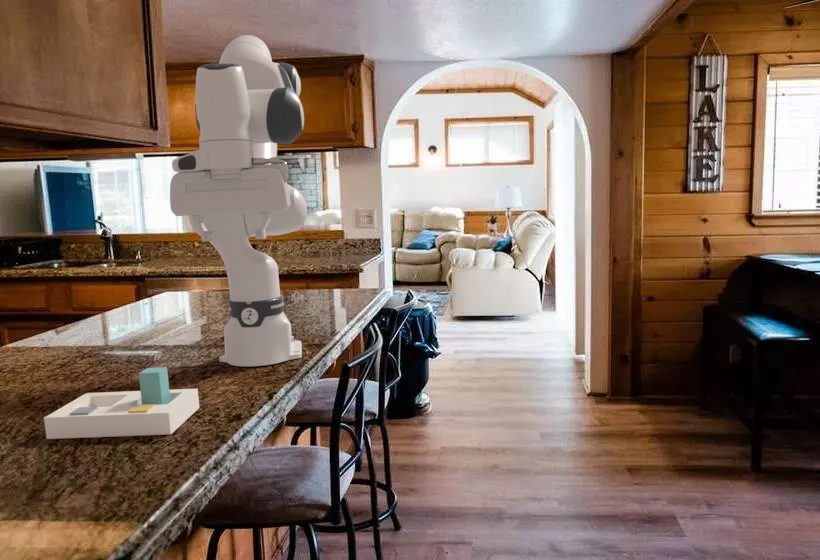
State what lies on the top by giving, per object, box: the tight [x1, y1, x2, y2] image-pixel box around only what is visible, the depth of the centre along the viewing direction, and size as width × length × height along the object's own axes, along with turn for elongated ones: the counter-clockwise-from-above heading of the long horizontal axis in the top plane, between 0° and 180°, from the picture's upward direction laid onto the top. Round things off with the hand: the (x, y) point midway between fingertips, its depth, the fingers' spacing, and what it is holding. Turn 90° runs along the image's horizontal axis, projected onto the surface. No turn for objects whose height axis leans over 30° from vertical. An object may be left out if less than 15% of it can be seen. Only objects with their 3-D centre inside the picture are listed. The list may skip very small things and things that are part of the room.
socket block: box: [43, 388, 200, 440], centre depth 111 cm, size 13×20×4 cm, turn 88°
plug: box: [138, 366, 171, 405], centre depth 112 cm, size 3×3×8 cm
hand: (234, 240), depth 116 cm, fingers open, 8 cm apart
